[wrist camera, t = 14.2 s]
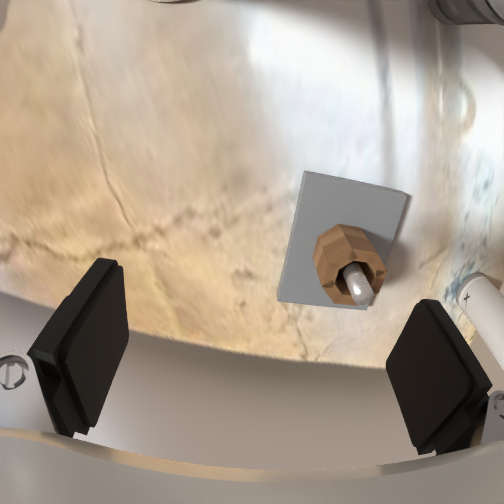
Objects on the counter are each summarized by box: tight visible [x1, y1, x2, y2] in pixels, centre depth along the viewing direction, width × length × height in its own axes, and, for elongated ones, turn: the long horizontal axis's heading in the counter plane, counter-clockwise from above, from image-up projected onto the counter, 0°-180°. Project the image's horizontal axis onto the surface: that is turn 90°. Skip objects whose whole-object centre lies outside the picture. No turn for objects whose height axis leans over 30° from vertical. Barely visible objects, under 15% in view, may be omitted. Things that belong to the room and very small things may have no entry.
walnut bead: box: [312, 224, 387, 306], centre depth 34 cm, size 6×6×6 cm
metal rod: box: [340, 261, 374, 305], centre depth 32 cm, size 2×2×9 cm
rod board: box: [277, 171, 407, 310], centre depth 37 cm, size 16×12×2 cm
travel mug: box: [456, 273, 504, 371], centre depth 32 cm, size 6×7×20 cm
